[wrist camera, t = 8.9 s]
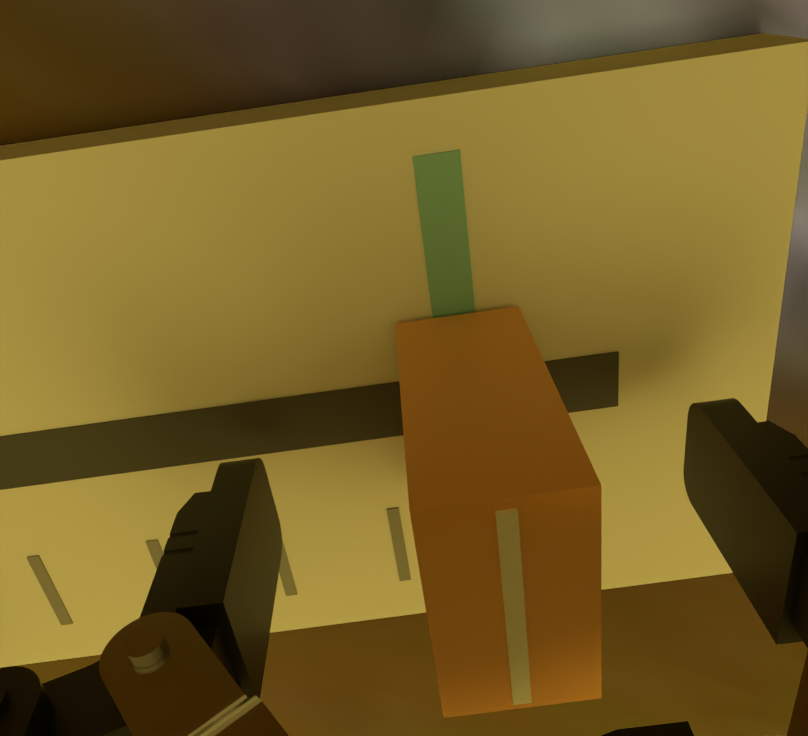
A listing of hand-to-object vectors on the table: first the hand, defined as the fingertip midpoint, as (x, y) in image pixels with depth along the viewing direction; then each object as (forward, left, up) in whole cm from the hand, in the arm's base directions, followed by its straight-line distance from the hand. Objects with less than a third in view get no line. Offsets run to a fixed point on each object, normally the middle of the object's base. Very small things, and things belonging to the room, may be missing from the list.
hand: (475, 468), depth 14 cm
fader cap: (0, 0, -3) cm, 3 cm away
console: (0, -5, -5) cm, 7 cm away
